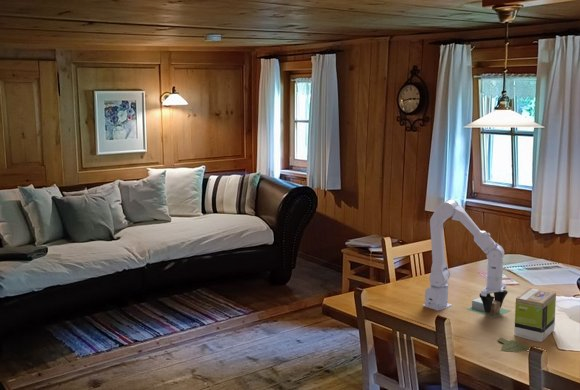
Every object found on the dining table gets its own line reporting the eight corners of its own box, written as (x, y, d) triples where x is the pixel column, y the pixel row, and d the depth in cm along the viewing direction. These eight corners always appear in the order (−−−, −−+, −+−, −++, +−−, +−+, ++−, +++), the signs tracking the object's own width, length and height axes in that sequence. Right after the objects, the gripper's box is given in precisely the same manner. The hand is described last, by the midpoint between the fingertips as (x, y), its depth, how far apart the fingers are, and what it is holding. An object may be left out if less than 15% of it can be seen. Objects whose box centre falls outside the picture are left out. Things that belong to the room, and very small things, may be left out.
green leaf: (532, 363, 208) (532, 360, 208) (485, 345, 223) (486, 343, 222) (551, 355, 214) (551, 352, 214) (505, 338, 229) (505, 335, 229)
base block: (484, 311, 255) (485, 304, 255) (471, 307, 260) (472, 300, 259) (493, 308, 259) (493, 300, 258) (480, 304, 263) (480, 297, 263)
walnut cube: (494, 316, 250) (494, 303, 249) (485, 313, 253) (485, 301, 252) (499, 313, 252) (500, 301, 251) (490, 311, 255) (491, 299, 254)
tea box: (527, 324, 242) (530, 287, 239) (554, 330, 236) (557, 292, 233) (513, 336, 230) (515, 296, 228) (541, 343, 224) (544, 302, 222)
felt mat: (494, 318, 248) (494, 317, 248) (465, 309, 258) (465, 309, 258) (510, 311, 256) (510, 310, 256) (482, 303, 265) (482, 302, 265)
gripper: (493, 282, 242) (491, 316, 245) (513, 275, 252) (511, 308, 254) (477, 278, 248) (475, 311, 250) (497, 271, 257) (496, 303, 259)
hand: (492, 309), depth 252 cm, fingers open, 7 cm apart
